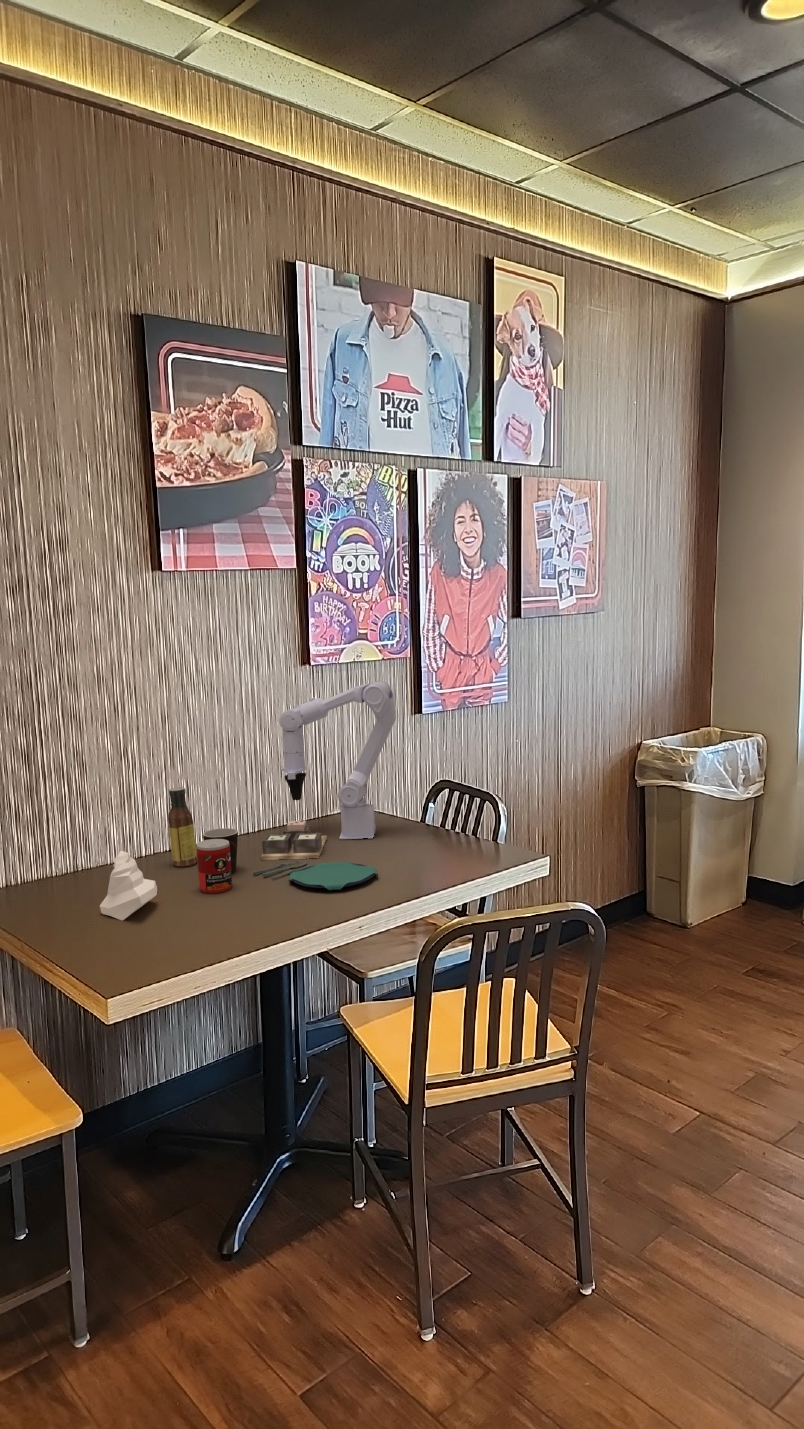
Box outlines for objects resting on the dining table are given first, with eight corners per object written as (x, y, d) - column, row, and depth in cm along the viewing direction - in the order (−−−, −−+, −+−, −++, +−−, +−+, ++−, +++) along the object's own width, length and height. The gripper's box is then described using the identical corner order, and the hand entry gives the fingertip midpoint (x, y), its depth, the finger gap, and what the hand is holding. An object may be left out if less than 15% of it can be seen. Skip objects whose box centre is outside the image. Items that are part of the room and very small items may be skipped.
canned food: (207, 896, 220) (203, 849, 218) (194, 887, 226) (190, 842, 225) (238, 889, 224) (235, 843, 223) (224, 881, 231) (221, 836, 229)
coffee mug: (205, 868, 242) (203, 829, 241) (240, 865, 244) (237, 826, 242) (204, 882, 231) (202, 841, 229) (241, 878, 232) (238, 838, 231)
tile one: (317, 844, 254) (316, 834, 254) (315, 849, 250) (314, 838, 249) (300, 845, 254) (300, 834, 254) (298, 849, 250) (297, 838, 250)
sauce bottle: (200, 860, 249) (195, 785, 247) (193, 867, 243) (187, 790, 240) (176, 860, 250) (170, 786, 247) (168, 867, 244) (162, 791, 241)
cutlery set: (335, 899, 214) (334, 889, 214) (245, 879, 233) (244, 870, 233) (392, 877, 229) (392, 868, 229) (303, 860, 248) (303, 852, 248)
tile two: (287, 845, 254) (286, 834, 254) (284, 850, 250) (283, 839, 250) (270, 846, 255) (270, 835, 254) (267, 850, 250) (267, 839, 250)
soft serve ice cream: (92, 930, 205) (73, 866, 205) (122, 912, 220) (104, 852, 220) (145, 915, 203) (126, 851, 203) (172, 898, 218) (154, 838, 218)
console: (327, 839, 265) (326, 823, 265) (318, 858, 247) (317, 841, 246) (273, 840, 266) (272, 824, 265) (260, 860, 247) (259, 843, 247)
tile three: (306, 830, 263) (305, 820, 263) (304, 834, 259) (303, 824, 258) (290, 831, 263) (289, 820, 263) (287, 835, 259) (287, 824, 258)
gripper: (283, 747, 274) (286, 794, 276) (275, 757, 260) (278, 806, 262) (308, 747, 274) (311, 793, 276) (301, 756, 260) (304, 805, 262)
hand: (296, 799), depth 269 cm, fingers closed
